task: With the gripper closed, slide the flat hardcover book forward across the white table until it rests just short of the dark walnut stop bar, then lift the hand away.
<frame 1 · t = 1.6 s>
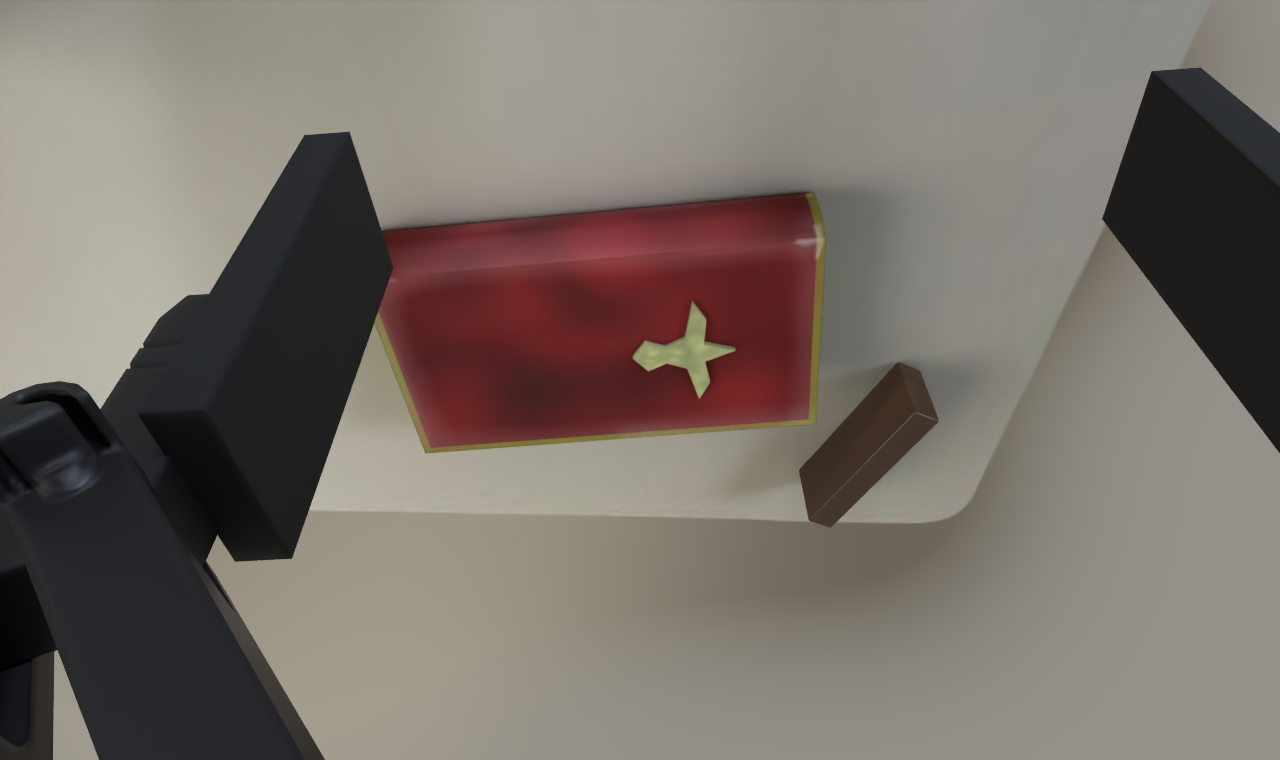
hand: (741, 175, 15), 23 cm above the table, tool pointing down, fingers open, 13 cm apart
hardcover book: (605, 302, 45), on the table
stop bar: (856, 423, 51), on the table
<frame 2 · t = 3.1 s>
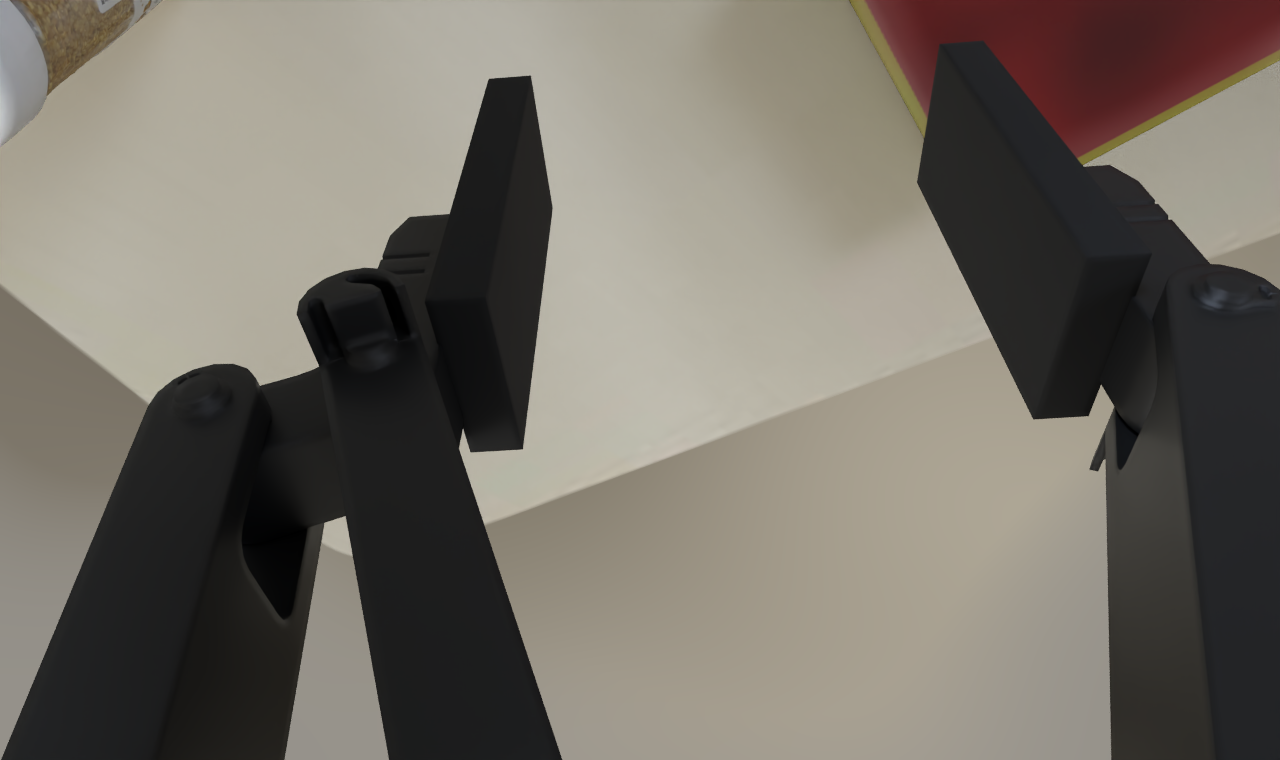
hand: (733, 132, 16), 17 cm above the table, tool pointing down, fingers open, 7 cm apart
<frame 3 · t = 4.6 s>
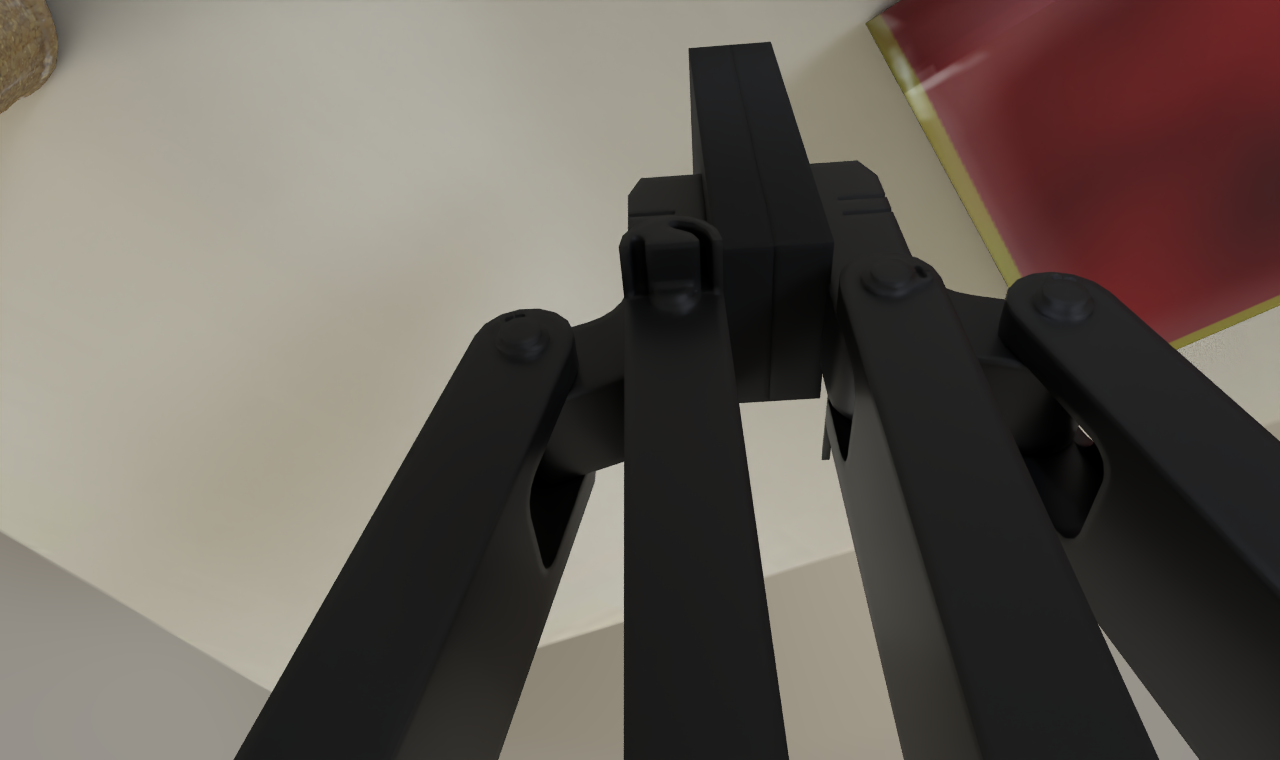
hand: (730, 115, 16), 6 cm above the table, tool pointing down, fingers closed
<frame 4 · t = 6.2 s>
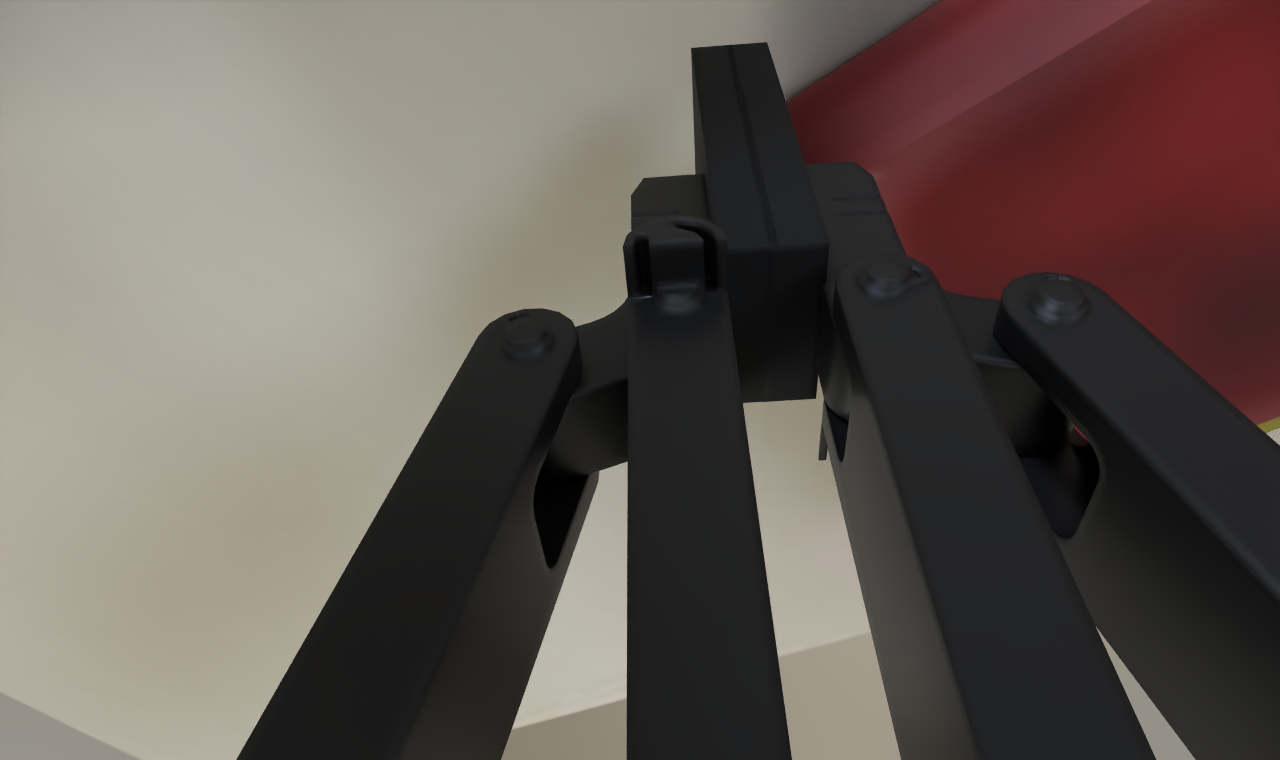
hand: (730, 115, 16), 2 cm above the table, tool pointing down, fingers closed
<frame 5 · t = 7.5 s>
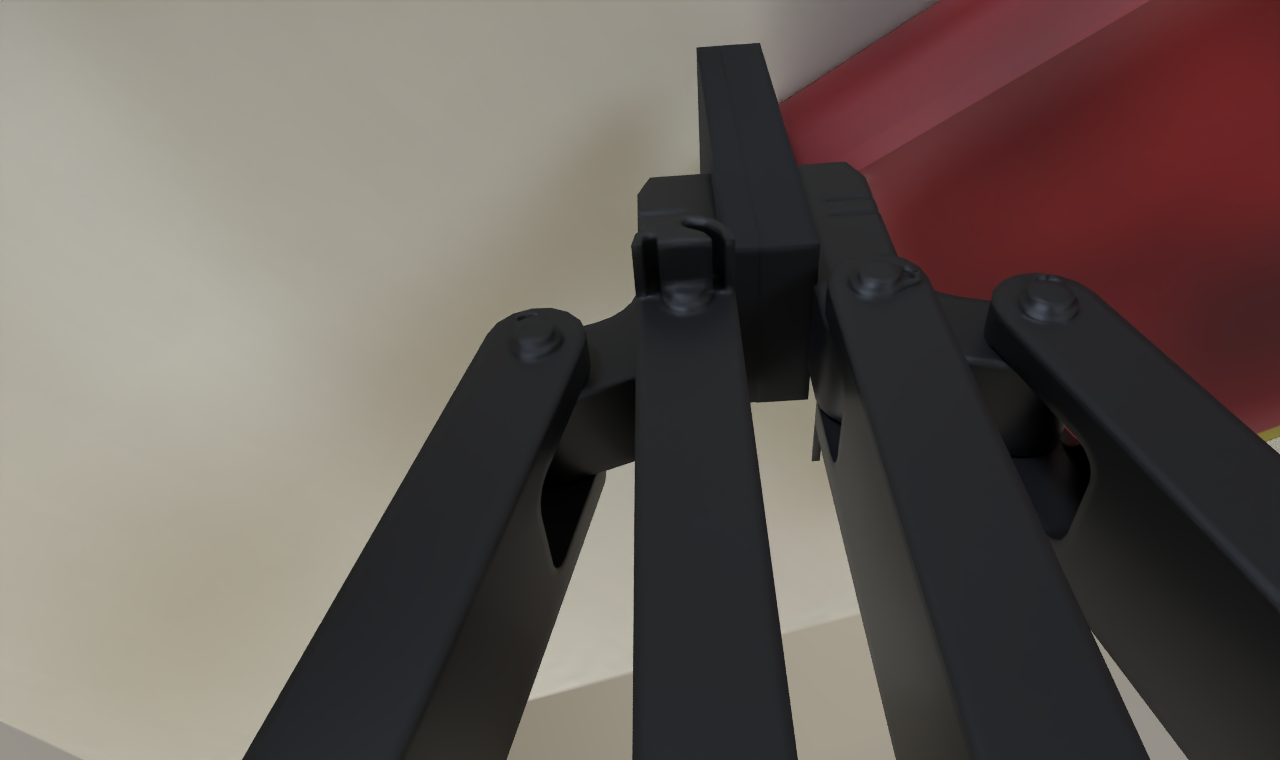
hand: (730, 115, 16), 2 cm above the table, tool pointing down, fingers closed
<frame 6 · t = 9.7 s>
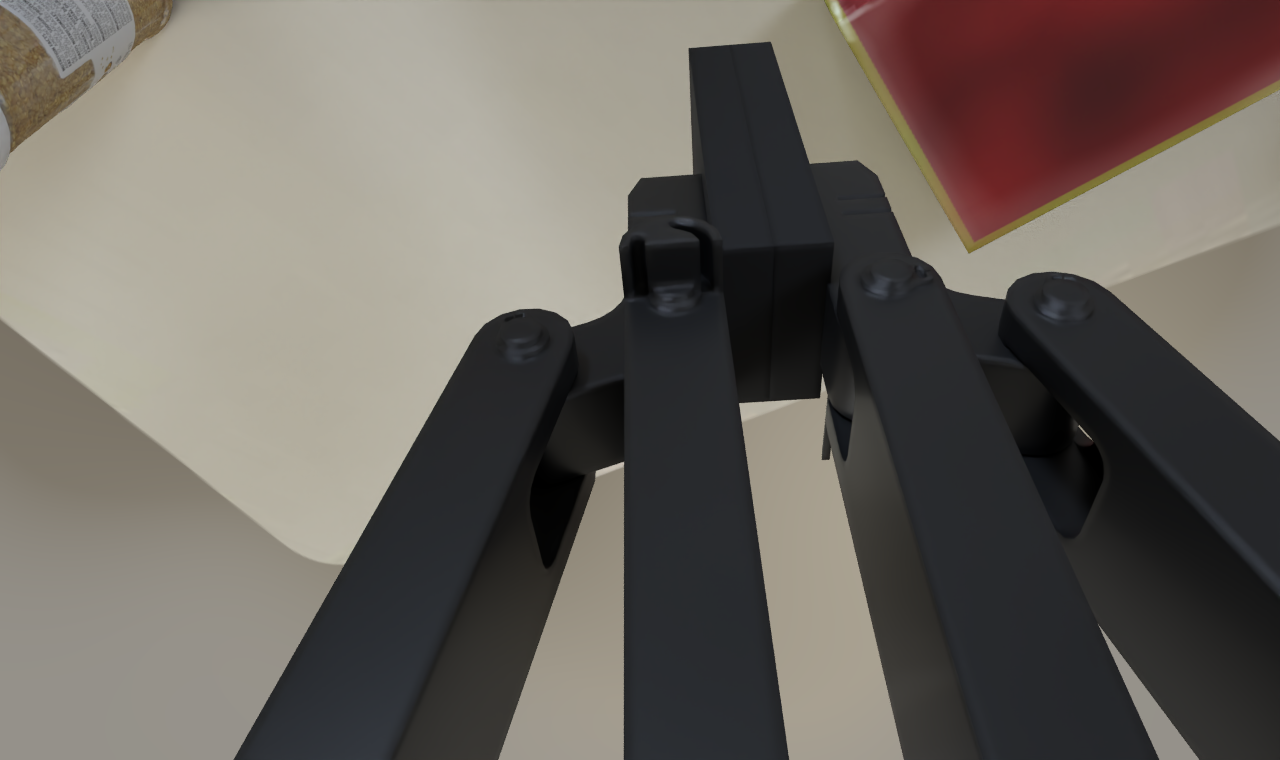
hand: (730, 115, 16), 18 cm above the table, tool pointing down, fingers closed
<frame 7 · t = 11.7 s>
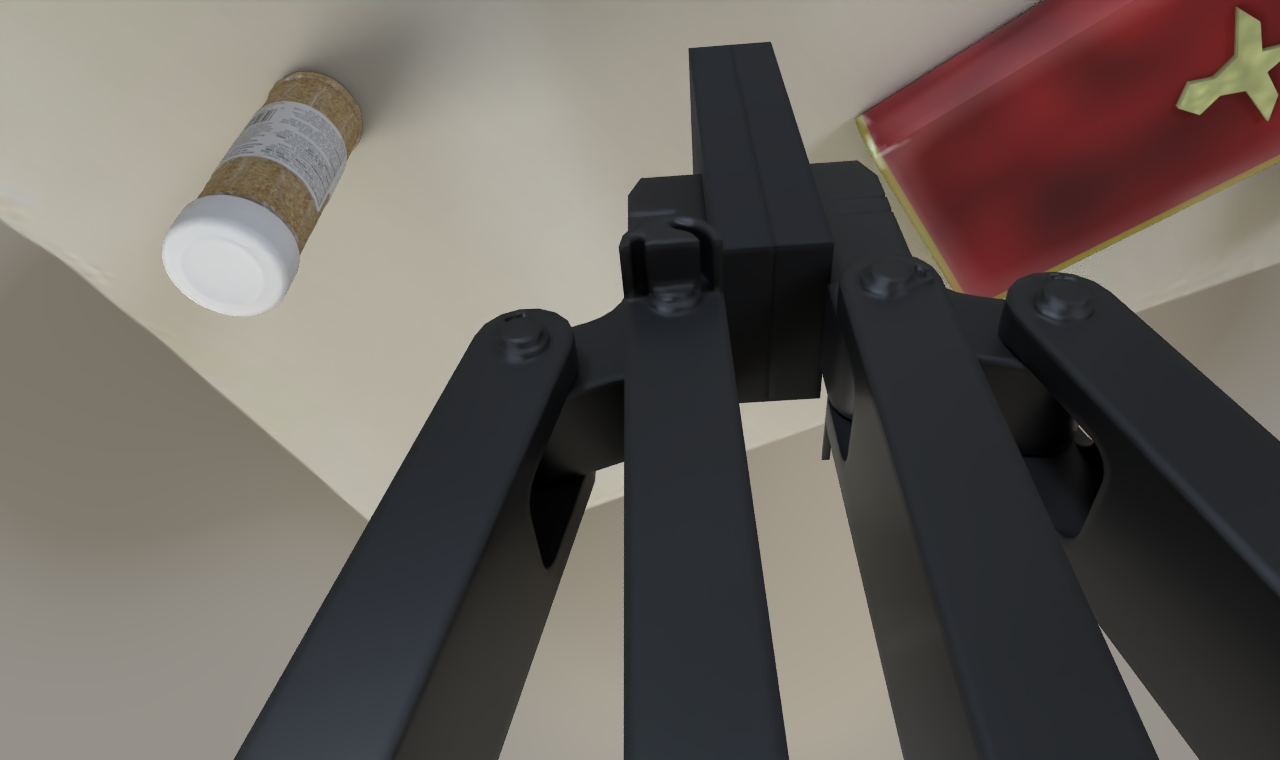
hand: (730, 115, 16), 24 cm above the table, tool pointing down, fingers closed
hardcover book: (1103, 81, 41), on the table, touching stop bar
sprinkles bottle: (319, 110, 42), on the table
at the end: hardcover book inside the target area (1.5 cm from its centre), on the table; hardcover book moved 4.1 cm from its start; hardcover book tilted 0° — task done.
